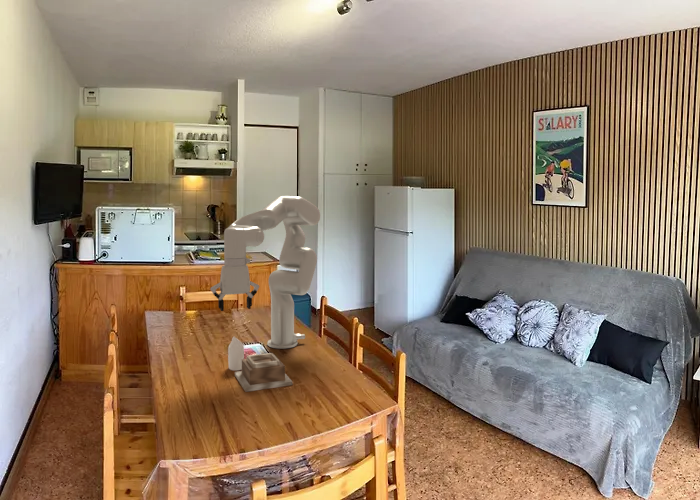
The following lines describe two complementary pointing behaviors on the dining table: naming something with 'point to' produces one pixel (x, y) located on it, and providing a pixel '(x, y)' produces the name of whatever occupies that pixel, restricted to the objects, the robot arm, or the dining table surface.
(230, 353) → the roll
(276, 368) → the tower base
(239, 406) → the dining table surface
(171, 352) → the dining table surface
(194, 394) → the dining table surface
